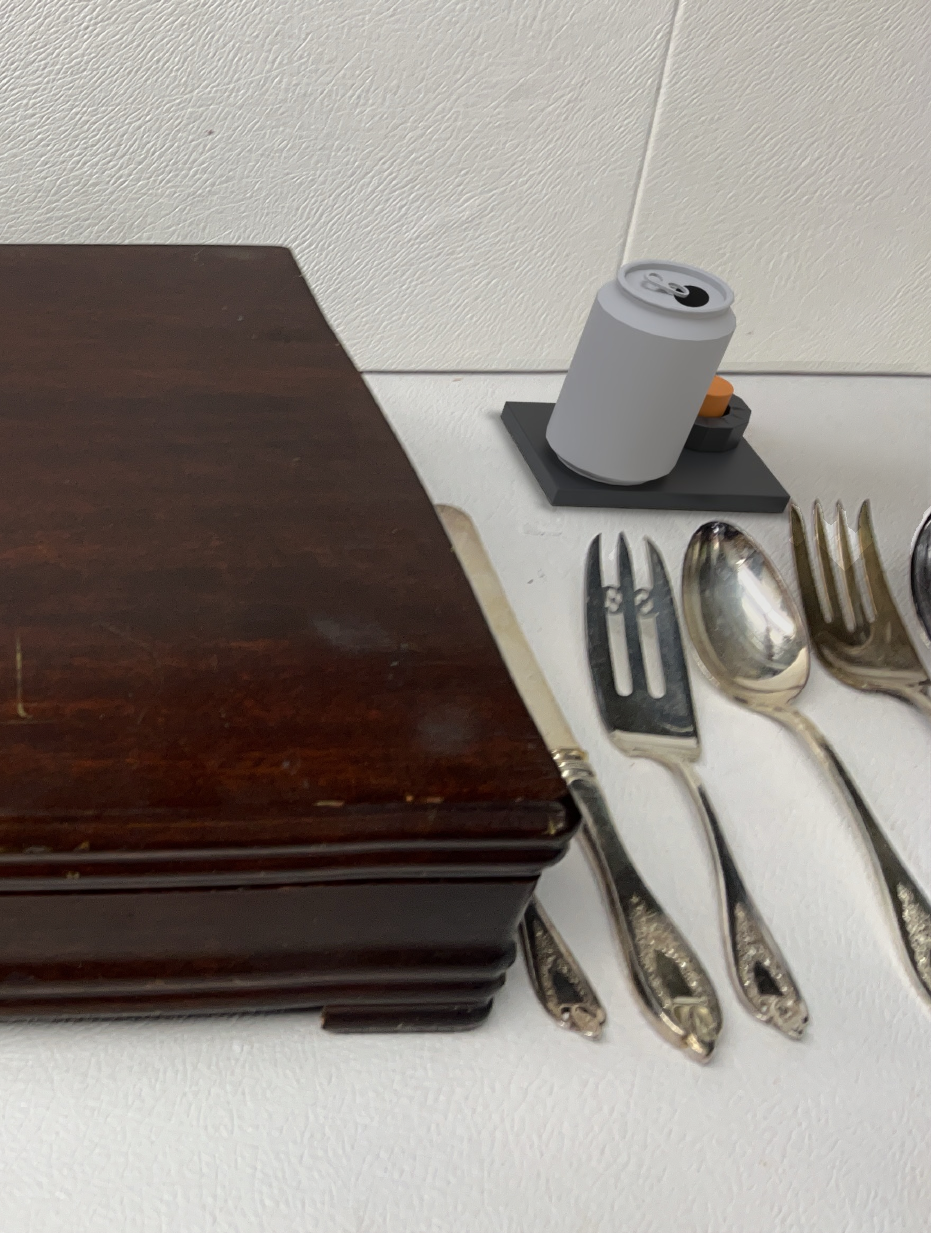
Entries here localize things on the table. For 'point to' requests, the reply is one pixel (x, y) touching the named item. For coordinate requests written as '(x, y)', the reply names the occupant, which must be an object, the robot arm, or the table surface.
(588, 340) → the can
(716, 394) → the button
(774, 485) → the black flat block
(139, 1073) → the table surface
